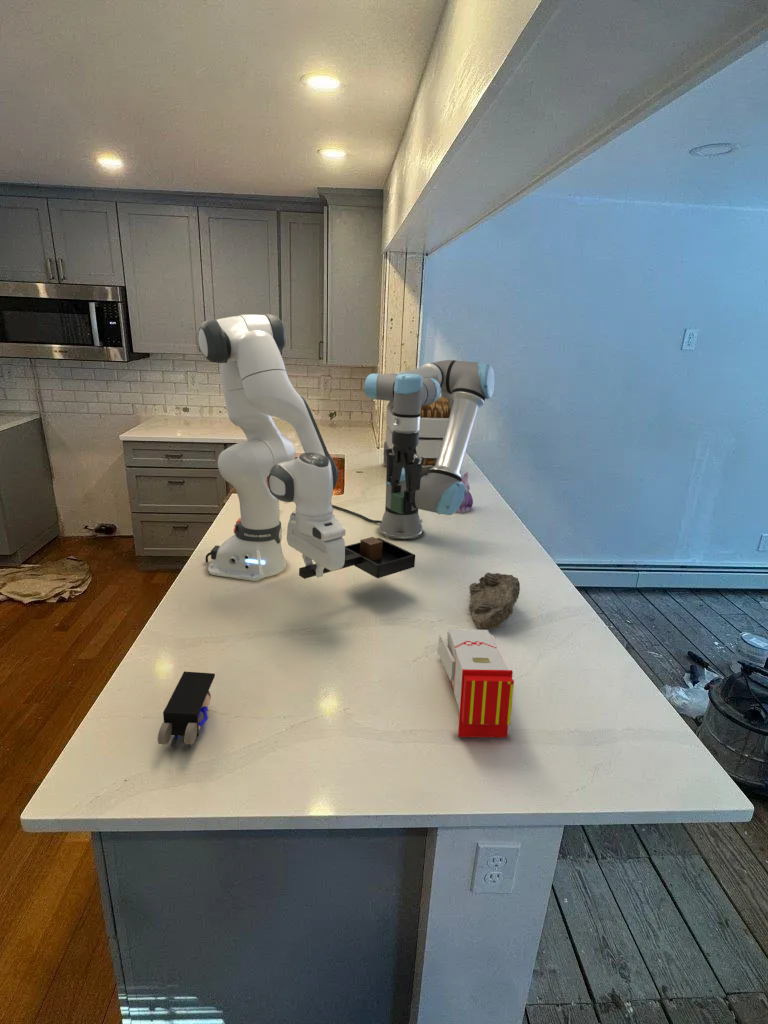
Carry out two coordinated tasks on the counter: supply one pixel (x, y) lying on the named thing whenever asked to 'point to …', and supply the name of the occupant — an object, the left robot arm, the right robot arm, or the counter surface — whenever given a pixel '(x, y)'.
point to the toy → (478, 682)
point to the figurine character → (186, 708)
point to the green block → (397, 502)
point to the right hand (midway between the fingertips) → (401, 509)
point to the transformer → (425, 428)
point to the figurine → (466, 497)
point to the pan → (388, 564)
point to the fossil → (493, 599)
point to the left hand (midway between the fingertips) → (314, 573)
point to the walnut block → (371, 548)
